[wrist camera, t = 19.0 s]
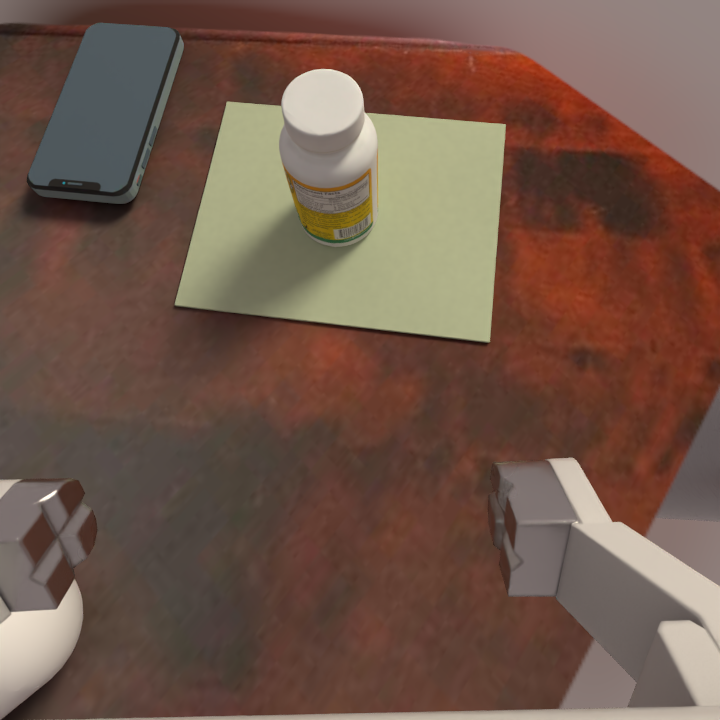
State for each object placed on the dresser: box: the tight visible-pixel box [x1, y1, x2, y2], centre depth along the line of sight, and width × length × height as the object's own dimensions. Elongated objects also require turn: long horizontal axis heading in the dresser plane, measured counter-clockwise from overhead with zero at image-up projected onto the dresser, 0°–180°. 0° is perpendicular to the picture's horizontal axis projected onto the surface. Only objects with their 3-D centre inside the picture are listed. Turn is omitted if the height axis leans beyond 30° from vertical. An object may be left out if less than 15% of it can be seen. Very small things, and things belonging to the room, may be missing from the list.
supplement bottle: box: [279, 69, 378, 247], centre depth 28 cm, size 5×5×10 cm
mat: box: [175, 102, 506, 343], centre depth 33 cm, size 20×16×1 cm
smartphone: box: [27, 23, 184, 204], centre depth 36 cm, size 8×2×15 cm
